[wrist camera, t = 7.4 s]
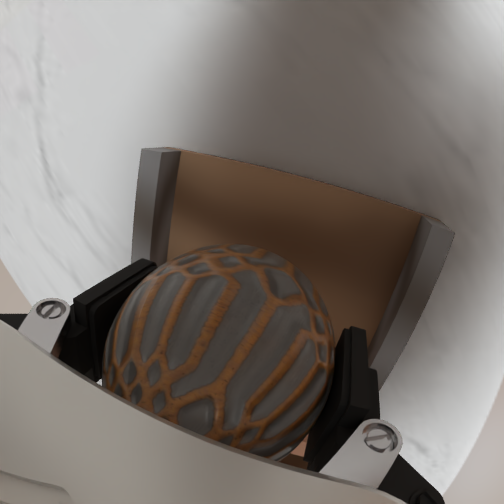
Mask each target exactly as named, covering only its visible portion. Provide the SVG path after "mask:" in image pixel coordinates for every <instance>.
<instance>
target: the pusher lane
mask: <svg viewBox="0 0 504 504" xmlns="http://www.w3.org/2000/svg"><path fill="white" fill-rule="evenodd" d="M454 235H455V233H454V232H453V231H452V230H451V229H449V228H448V227H447V226H446V225H445V224H443V223H442V222H441V221H440V220H438V219H435V218H432V217H430V216H427V215H424V214H421V213H418V212H416V211H413V210H410V209H407V208H404V207H401V206H398V205H395V204H392V203H389V202H386V201H383V200H380V199H377V198H374V197H371V196H367V195H364V194H361V193H358V192H355V191H351V190H348V189H345V188H341V187H338V186H334V185H331V184H327V183H324V182H320V181H317V180H313V179H309V178H306V177H302V176H298V175H294V174H290V173H286V172H282V171H278V170H274V169H270V168H266V167H262V166H258V165H254V164H249V163H245V162H240V161H236V160H231V159H227V158H222V157H217V156H212V155H208V154H203V153H197V152H192V151H187V150H182V149H176V148H171V147H161V148H145V149H142V150H141V157H140V165H139V173H138V181H137V191H136V201H135V212H134V224H133V239H132V257H131V264H132V263H134V262H136V261H138V260H139V259H141V258H144V259H147V260H150V261H153V262H155V263H156V264H157V267H160V266H161V265H163V264H165V263H166V262H168V261H170V260H172V259H173V258H175V257H177V256H179V255H181V254H184V253H186V252H188V251H191V250H194V249H197V248H201V247H205V246H211V245H218V244H241V245H249V246H254V247H258V248H262V249H264V250H267V251H270V252H272V253H274V254H277V255H278V256H280V257H282V258H284V259H286V260H287V261H289V262H290V263H291V264H293V265H294V266H295V267H297V268H298V269H299V270H300V271H301V272H302V273H303V274H304V275H305V276H306V277H307V278H308V279H309V280H310V281H311V283H312V284H313V285H314V287H315V288H316V290H317V291H318V293H319V294H320V296H321V298H322V299H323V301H324V303H325V306H326V308H327V311H328V313H329V316H330V319H331V322H332V326H333V331H334V339H335V347H336V345H337V343H338V340H339V338H340V336H341V333H342V331H343V329H344V328H346V329H349V328H350V326H354V327H358V328H361V329H365V330H366V337H367V351H368V368H372V369H375V370H377V375H378V389H379V390H380V389H381V387H382V385H383V384H384V382H385V381H386V379H387V377H388V376H389V374H390V372H391V370H392V369H393V367H394V365H395V364H396V362H397V360H398V358H399V356H400V355H401V353H402V351H403V349H404V347H405V346H406V344H407V342H408V340H409V338H410V336H411V334H412V332H413V330H414V328H415V326H416V324H417V322H418V320H419V318H420V316H421V314H422V312H423V310H424V308H425V306H426V304H427V301H428V299H429V297H430V295H431V293H432V290H433V288H434V286H435V283H436V281H437V279H438V276H439V274H440V272H441V269H442V267H443V264H444V262H445V259H446V257H447V254H448V251H449V249H450V246H451V243H452V241H453V238H454ZM303 458H304V457H302V456H298V455H295V454H291V453H290V454H289V455H287V456H286V457H285V458H283V459H282V460H281V461H279V462H281V463H284V464H287V465H291V466H294V467H298V468H302V469H306V470H307V465H308V462H306V461H303Z"/></svg>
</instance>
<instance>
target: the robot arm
mask: <svg viewBox="0 0 504 504" xmlns="http://www.w3.org/2000/svg"><path fill="white" fill-rule="evenodd" d="M157 268H158V267H157V264H156V263H155V262H153V261H150V260H147V259H144V258H141V259H139V260H138V261H136V262H134V263H132V264H131V265H129V266H127V267H125V268H124V269H122V270H120V271H118V272H117V273H115V274H113V275H112V276H110V277H108V278H107V279H105V280H103V281H101V282H100V283H98V284H96V285H95V286H93V287H91V288H90V289H88V290H86V291H85V292H83V293H81V294H80V295H78V296H77V297H75V298H73V303H74V304H73V305H71V306H69V304H68V303H67V302H65V301H64V300H61V299H58V298H47V299H43V300H40V301H39V302H37V303H36V304H35V305H34V306H33V307H32V309H31V310H30V312H29V313H28V314H0V504H445V502H444V500H443V497H442V496H441V494H440V493H439V492H438V491H437V490H436V489H435V488H434V487H433V486H432V485H431V484H430V483H429V482H428V481H426V480H425V479H424V478H423V477H422V476H421V475H420V474H419V473H418V472H417V471H416V470H415V469H414V468H413V467H412V466H411V465H410V464H409V463H408V462H407V461H406V460H404V459H403V458H402V457H401V456H400V455H399V452H400V450H401V448H402V444H403V443H402V437H401V434H400V432H399V431H398V430H397V429H396V427H394V426H393V425H392V424H390V423H388V422H386V421H384V420H380V405H379V389H378V375H377V370H375V369H372V368H368V351H367V337H366V330H365V329H361V328H358V327H354V326H350V328H349V329H346V328H344V329H343V331H342V333H341V336H340V338H339V340H338V343H337V345H336V347H335V369H334V376H333V382H332V386H331V390H330V393H329V396H328V399H327V401H326V404H325V406H324V408H323V410H322V412H321V414H320V416H319V418H318V420H317V421H316V423H315V425H314V426H313V428H312V429H311V431H310V432H309V434H308V439H307V444H306V448H305V453H304V458H303V461H306V462H308V465H307V470H306V469H302V468H298V467H294V466H291V465H287V464H284V463H281V462H277V461H274V460H271V459H267V458H264V457H261V456H258V455H255V454H251V453H248V452H245V451H242V450H240V449H237V448H234V447H231V446H228V445H226V444H223V443H220V442H218V441H215V440H212V439H210V438H207V437H205V436H202V435H200V434H198V433H195V432H193V431H190V430H188V429H186V428H183V427H181V426H179V425H177V424H174V423H172V422H170V421H168V420H166V419H163V418H161V417H159V416H157V415H155V414H153V413H151V412H149V411H147V410H145V409H143V408H141V407H139V406H137V405H135V404H133V403H131V402H129V401H128V400H126V399H124V398H122V397H120V396H118V395H116V394H115V393H113V392H111V391H109V390H108V389H106V388H104V387H102V386H101V385H99V384H97V383H96V382H98V381H99V380H100V379H102V362H103V353H104V347H105V342H106V339H107V336H108V333H109V330H110V328H111V325H112V323H113V321H114V319H115V317H116V315H117V313H118V312H119V310H120V308H121V307H122V305H123V303H124V302H125V301H126V299H127V298H128V296H129V295H130V294H131V292H132V291H133V290H134V289H135V288H136V287H137V285H138V284H139V283H140V282H141V281H142V280H143V279H144V278H145V277H147V276H148V275H149V274H150V273H152V272H153V271H154V270H156V269H157Z"/></svg>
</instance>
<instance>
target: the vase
mask: <svg viewBox="0 0 504 504" xmlns="http://www.w3.org/2000/svg"><path fill="white" fill-rule="evenodd" d="M334 369H335V339H334V331H333V326H332V322H331V319H330V316H329V313H328V311H327V308H326V306H325V303H324V301H323V299H322V298H321V296H320V294H319V293H318V291H317V290H316V288H315V287H314V285H313V284H312V283H311V281H310V280H309V279H308V278H307V277H306V276H305V275H304V274H303V273H302V272H301V271H300V270H299V269H298V268H297V267H295V266H294V265H293V264H291V263H290V262H289V261H287V260H286V259H284V258H282V257H280V256H278V255H277V254H274V253H272V252H270V251H267V250H264V249H262V248H258V247H254V246H249V245H241V244H218V245H211V246H205V247H201V248H197V249H194V250H191V251H188V252H186V253H184V254H181V255H179V256H177V257H175V258H173V259H172V260H170V261H168V262H166V263H165V264H163V265H161V266H160V267H158V268H157V269H156V270H154V271H153V272H152V273H150V274H149V275H148V276H147V277H145V278H144V279H143V280H142V281H141V282H140V283H139V284H138V285H137V287H136V288H135V289H134V290H133V291H132V292H131V294H130V295H129V296H128V298H127V299H126V301H125V302H124V303H123V305H122V307H121V308H120V310H119V312H118V313H117V315H116V317H115V319H114V321H113V323H112V325H111V328H110V330H109V333H108V336H107V339H106V342H105V347H104V353H103V362H102V387H104V388H106V389H108V390H109V391H111V392H113V393H115V394H116V395H118V396H120V397H122V398H124V399H126V400H128V401H129V402H131V403H133V404H135V405H137V406H139V407H141V408H143V409H145V410H147V411H149V412H151V413H153V414H155V415H157V416H159V417H161V418H163V419H166V420H168V421H170V422H172V423H174V424H177V425H179V426H181V427H183V428H186V429H188V430H190V431H193V432H195V433H198V434H200V435H202V436H205V437H207V438H210V439H212V440H215V441H218V442H220V443H223V444H226V445H228V446H231V447H234V448H237V449H240V450H242V451H245V452H248V453H251V454H255V455H258V456H261V457H264V458H267V459H271V460H274V461H277V462H279V461H281V460H282V459H283V458H285V457H286V456H287V455H289V454H290V453H291V452H292V451H293V450H294V449H295V448H296V447H297V446H298V445H299V444H300V443H301V442H302V441H303V440H304V438H305V437H306V436H307V435H308V433H309V432H310V431H311V429H312V428H313V426H314V425H315V423H316V421H317V420H318V418H319V416H320V414H321V412H322V410H323V408H324V406H325V404H326V401H327V399H328V396H329V393H330V390H331V386H332V382H333V376H334Z"/></svg>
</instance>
